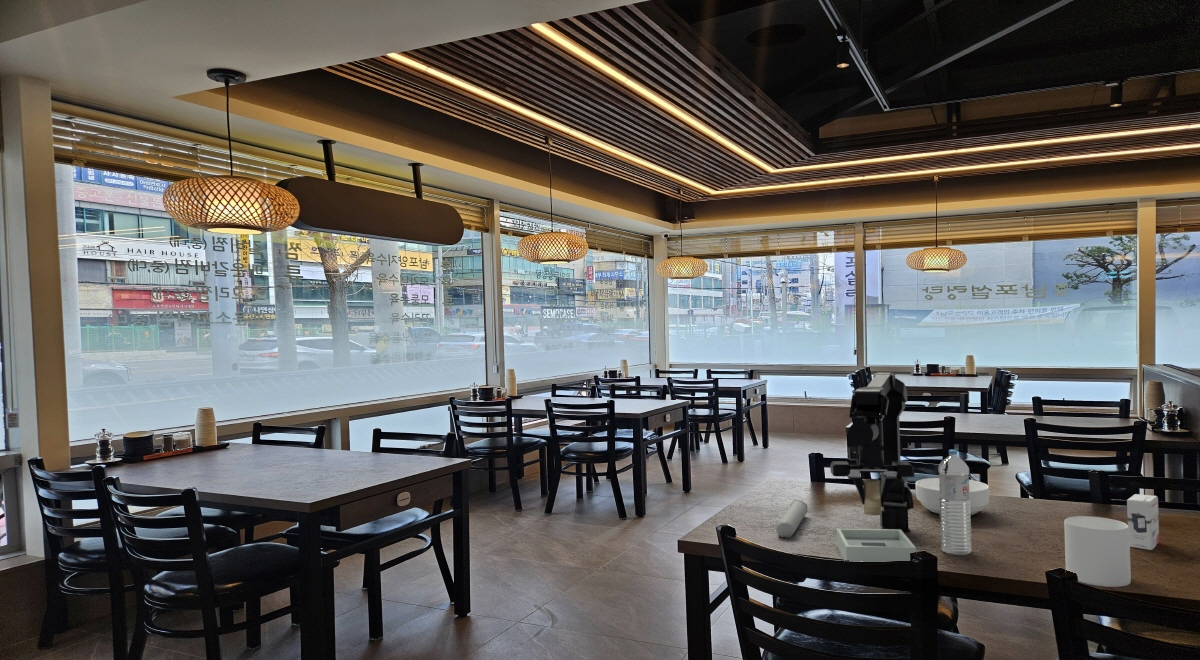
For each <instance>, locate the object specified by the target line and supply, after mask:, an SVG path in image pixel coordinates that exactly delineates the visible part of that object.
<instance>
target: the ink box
mask: <svg viewBox="0 0 1200 660" xmlns="http://www.w3.org/2000/svg"><path fill="white" fill-rule="evenodd" d="M1126 511H1127V525H1128V526H1129V537H1130V548H1135V549H1136V548H1137V549H1142V550H1148V551H1153V550H1154V549H1155V548H1156V547H1157V545H1159V543H1160V531H1159V527H1160V525H1159V523H1160V521H1159V520H1160V519H1159V498H1158V496H1157V495H1147V494H1139V493H1138V494H1137V493H1135V494H1133V495H1132V496H1130V497H1129V498H1128V499H1127V500H1126Z"/></svg>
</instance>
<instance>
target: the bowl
mask: <svg viewBox="0 0 1200 660" xmlns="http://www.w3.org/2000/svg"><path fill="white" fill-rule="evenodd" d="M915 494H916V495H915V496H916V499H917V500H918V501H919V502H920V504H921V505H922V506H923V507H924V508H926V509H928V510H929V512H933V513H935V514H938V515H940V504H939V503H940V501H939V498H940V486H939V477H930V478H928V477H927V478H922V479H918V480H917V481H915ZM969 499H970V516H973V515H975V514H977V513H979V512H980V511H982V510H984V508H985V507H986V506H987V505H988V504H989V502H990V500H989V499H990V486H989V485H988V484H987V483H984V482H981V481H978V480H972V479H969Z"/></svg>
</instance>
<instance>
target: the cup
mask: <svg viewBox="0 0 1200 660" xmlns="http://www.w3.org/2000/svg"><path fill="white" fill-rule="evenodd" d="M1063 521H1064V525H1063V526H1064V527H1063V528H1064V556H1065V557H1064V559H1065V561H1064V562H1065V571H1066V570H1067V571H1070V572H1073V573H1076V574H1077V576H1078V581H1077V582H1078V583H1083V584H1085V585H1091V586H1095V587H1103V588H1104V587H1106V588H1119V587H1126V586H1129V585H1130V584H1131V581H1132V578H1131V575H1132V572H1131V570H1132V569H1131V547H1130V537H1129V526H1128V523H1125V522H1123V521H1121V520H1118V519H1117V520H1116V519H1112V518H1107V517H1101V516H1091V515H1089V516H1088V515H1076V516H1068V517H1066V518H1065V519H1064V520H1063Z"/></svg>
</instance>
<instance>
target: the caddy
mask: <svg viewBox="0 0 1200 660" xmlns="http://www.w3.org/2000/svg"><path fill="white" fill-rule="evenodd" d="M836 546H837V548H838V551H839V553H840V554H841V557H842V559H843V561H844V560H849V561H863V562H883V561H909V560H910V553H913V552H916V553H917V547H916V546H915V545H914V544H913V542H912V541H911V540H910V538H909V537H908V536H907V535H906V534H905V533H904V532H902V530H899V529H883V528H882V529H880V528H836Z"/></svg>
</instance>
